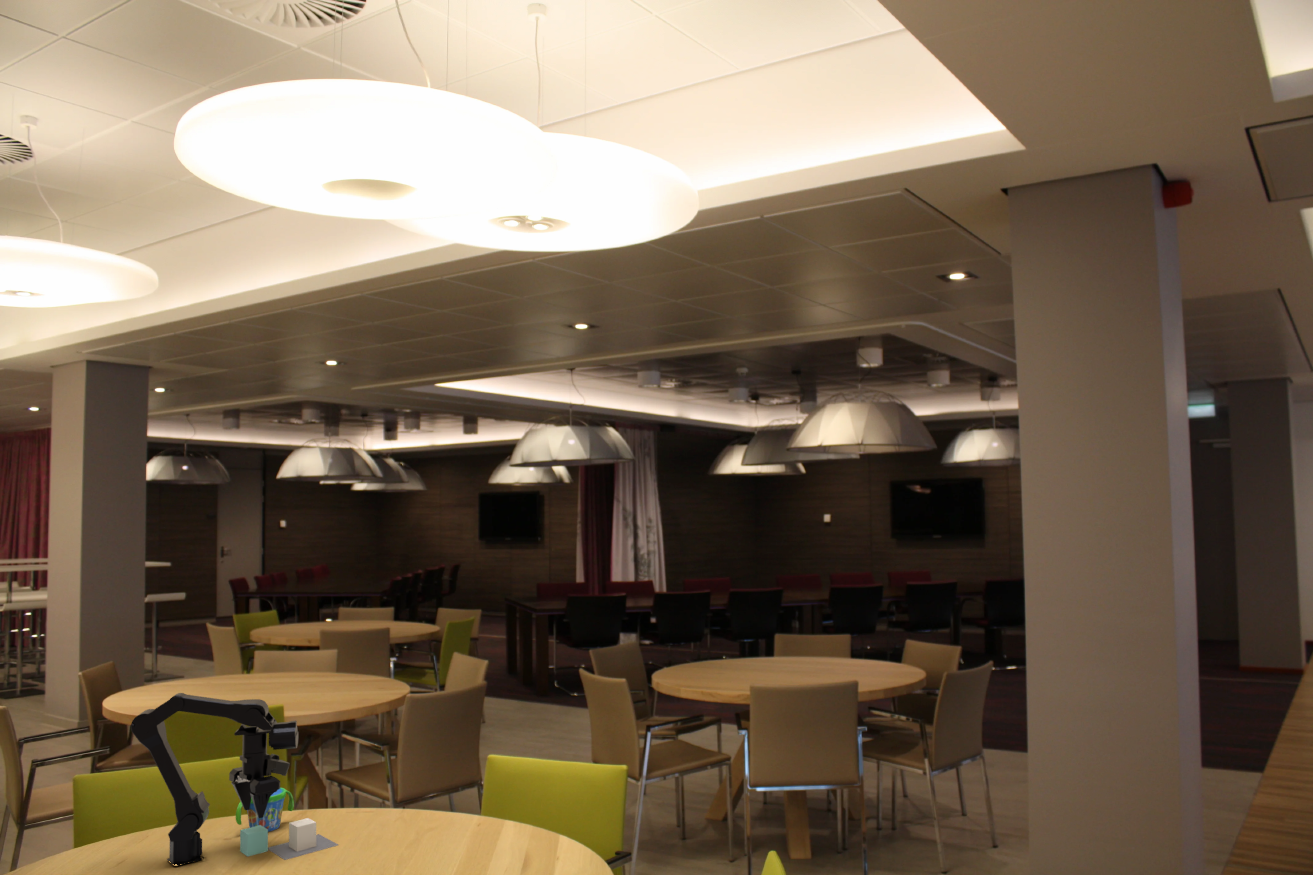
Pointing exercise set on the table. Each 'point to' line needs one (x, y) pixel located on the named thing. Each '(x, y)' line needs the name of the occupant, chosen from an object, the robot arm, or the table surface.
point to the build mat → (289, 853)
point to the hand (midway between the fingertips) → (253, 813)
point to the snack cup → (268, 811)
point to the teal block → (253, 840)
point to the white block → (302, 834)
